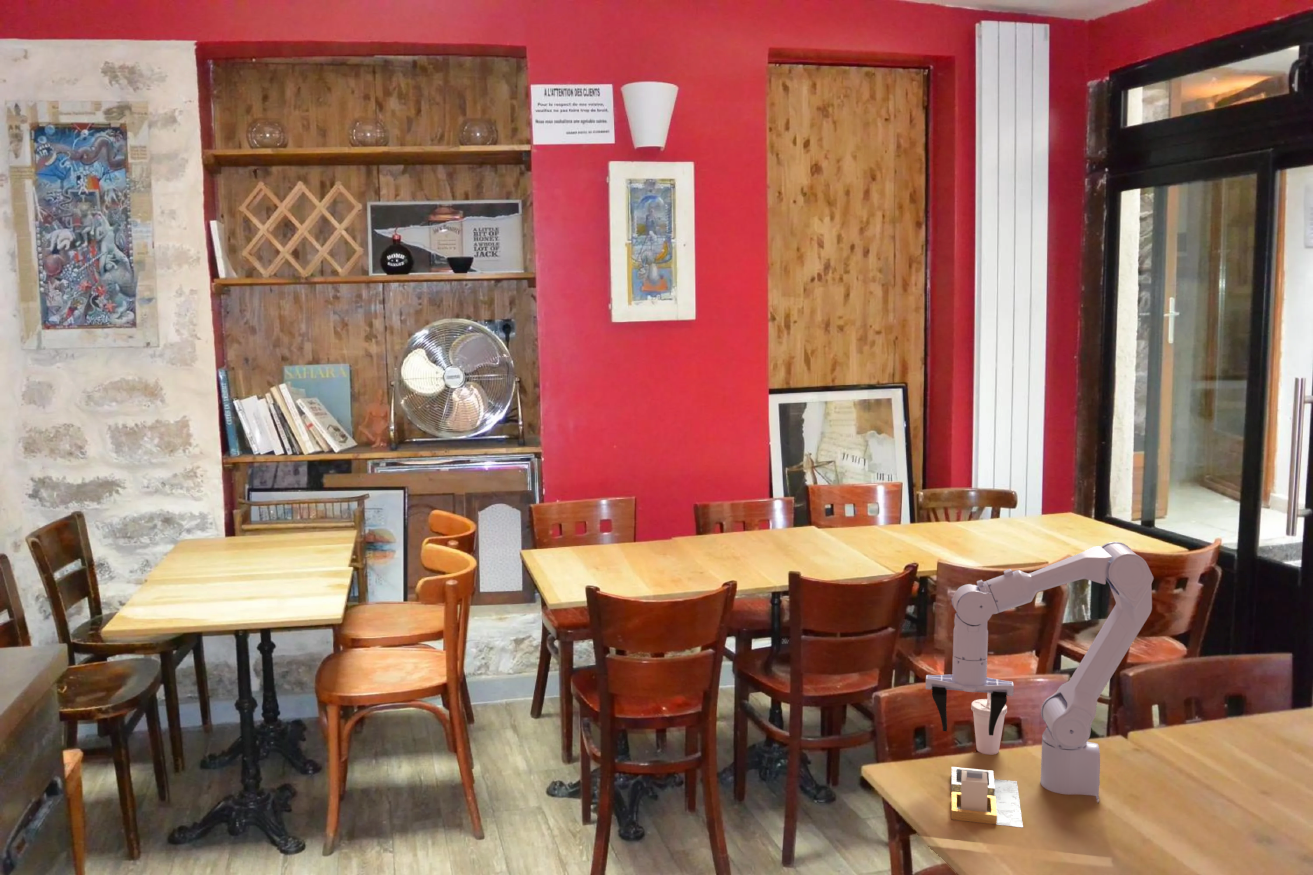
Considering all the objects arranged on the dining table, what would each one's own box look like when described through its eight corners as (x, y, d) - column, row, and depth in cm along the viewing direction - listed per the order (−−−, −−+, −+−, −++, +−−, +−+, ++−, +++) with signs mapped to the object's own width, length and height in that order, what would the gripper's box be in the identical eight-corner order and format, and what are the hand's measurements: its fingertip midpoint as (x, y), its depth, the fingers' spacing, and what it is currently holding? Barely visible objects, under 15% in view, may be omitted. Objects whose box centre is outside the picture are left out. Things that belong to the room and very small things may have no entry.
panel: (1016, 786, 192) (1017, 772, 192) (1022, 833, 176) (1023, 818, 176) (951, 779, 195) (951, 766, 195) (951, 825, 179) (951, 810, 179)
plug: (985, 806, 183) (986, 767, 182) (986, 818, 179) (987, 778, 178) (960, 804, 184) (961, 765, 183) (961, 815, 180) (962, 775, 179)
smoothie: (1001, 748, 208) (1004, 676, 206) (1009, 762, 202) (1011, 689, 200) (966, 747, 209) (968, 675, 207) (973, 761, 203) (975, 688, 201)
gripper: (926, 659, 188) (924, 735, 190) (1015, 666, 184) (1012, 744, 186) (926, 646, 195) (925, 720, 197) (1013, 652, 191) (1010, 728, 193)
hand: (967, 730), depth 192 cm, fingers open, 7 cm apart
